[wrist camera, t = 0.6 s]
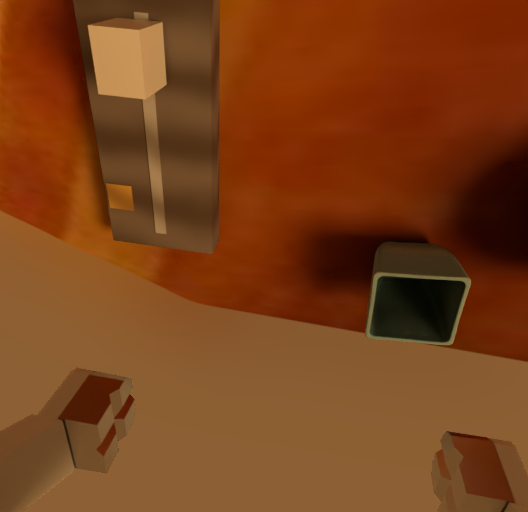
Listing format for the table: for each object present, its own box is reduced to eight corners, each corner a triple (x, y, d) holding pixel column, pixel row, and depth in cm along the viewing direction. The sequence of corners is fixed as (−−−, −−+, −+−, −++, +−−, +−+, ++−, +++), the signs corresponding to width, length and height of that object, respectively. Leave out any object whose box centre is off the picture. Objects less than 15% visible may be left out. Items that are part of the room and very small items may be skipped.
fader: (116, 17, 36) (87, 25, 32) (162, 21, 35) (138, 30, 31) (124, 79, 39) (98, 94, 34) (166, 84, 38) (145, 99, 34)
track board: (86, -24, 37) (67, -22, 35) (219, -12, 36) (210, -10, 34) (124, 227, 52) (113, 240, 50) (218, 240, 51) (212, 255, 49)
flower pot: (369, 224, 47) (374, 272, 40) (452, 228, 46) (473, 279, 39) (361, 286, 52) (364, 339, 45) (436, 291, 51) (452, 346, 44)
